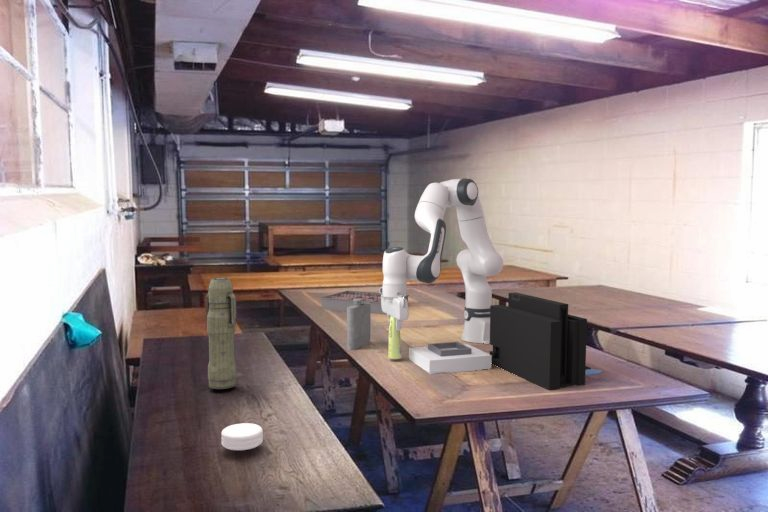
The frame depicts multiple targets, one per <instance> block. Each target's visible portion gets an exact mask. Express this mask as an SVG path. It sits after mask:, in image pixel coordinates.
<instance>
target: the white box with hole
mask: <svg viewBox="0 0 768 512" xmlns="http://www.w3.org/2000/svg"><path fill="white" fill-rule="evenodd" d="M408 359H409V361H411V362H412V363H413V364H415V365H416V366H418V367H419V368H420V369H422V370H424V371H425V372H427V374H428V375H429V376H430V375H442V374H443V375H444V373H448V374H452V373H454V374H455V373H463V372H464V373H465V372H475V370H477V371H483V370H482V369H488V370H491V369H492V365H491V362H492V355H490V353H488V352H486V351H483V350H481V349H479V348H477V347H475V346H472V345H471V344H468V343H461V342H458V341H451V342H450V341H448V342H438V343H427V346H419V347H418V346H416V347H408ZM490 368H491V369H490Z"/></svg>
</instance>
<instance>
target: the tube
mask: <svg viewBox="0 0 768 512" xmlns="http://www.w3.org/2000/svg"><path fill="white" fill-rule="evenodd" d="M395 325H396V318H394V317H392V316H390V326H389V325H388V326H389V327H388V346H387V348H388V349H387V350H388V351H387V352H388V353H387V356H388V359H390V360H391V359H392V360H398V359H399V360H400V359H402V339H401V330H398V331H397V330H396V329H395Z"/></svg>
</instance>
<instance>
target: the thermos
mask: <svg viewBox="0 0 768 512" xmlns="http://www.w3.org/2000/svg"><path fill="white" fill-rule="evenodd" d="M233 289H234V288H233V283H232V281H231V279H230V278H228V277H219V276H218V277H213V278H212V279H210V282H209V285H208V292H207V293H206V294H205V310H206V313H205V314H206V315H205V316H206V318H205V320H206V328H207V329H206V331H207V332H206V333H207V335H208V356H209V359H208V360H209V361H208V365H207V380H208V387H209V388H210V389H215V390H224V389H225V390H226V389H230V388H231V389H232V388H234V387H235V386H236V385H237V381H236V379H237V363H236V360H235V332H236V325H237V297H236V295H235V293H234V290H233Z"/></svg>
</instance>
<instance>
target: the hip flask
mask: <svg viewBox="0 0 768 512" xmlns="http://www.w3.org/2000/svg"><path fill="white" fill-rule="evenodd" d="M353 302H354V305H352V306H349V307H347V311H346V316H347V317H346V326H347V327H346V328H347V329H346V333H347V334H346V336H347V337H346V350H347V351H356V350H358V349H360V348H362V347H365V346H367V345H370V344H371V313H370V303H361V302H362V299H353Z"/></svg>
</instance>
